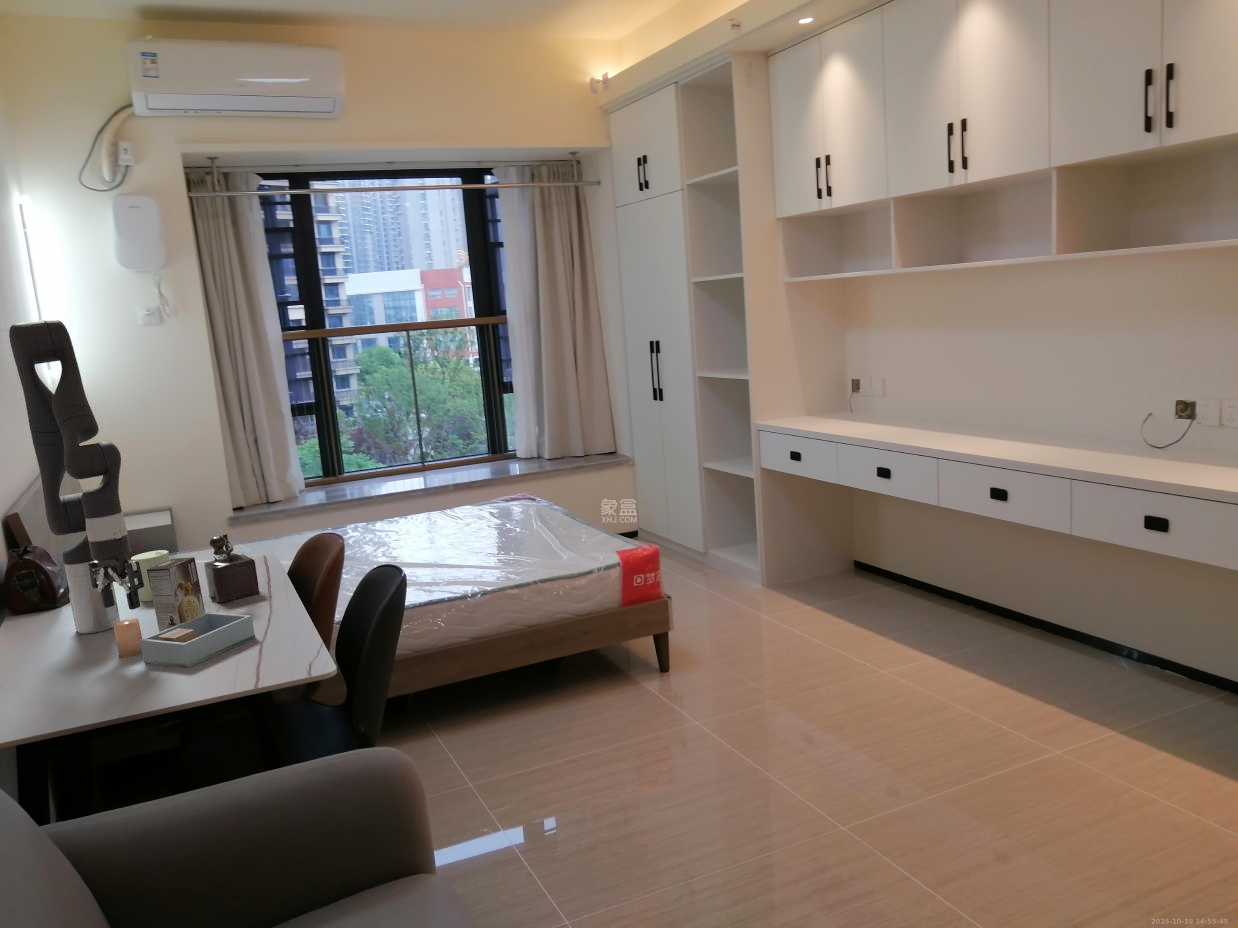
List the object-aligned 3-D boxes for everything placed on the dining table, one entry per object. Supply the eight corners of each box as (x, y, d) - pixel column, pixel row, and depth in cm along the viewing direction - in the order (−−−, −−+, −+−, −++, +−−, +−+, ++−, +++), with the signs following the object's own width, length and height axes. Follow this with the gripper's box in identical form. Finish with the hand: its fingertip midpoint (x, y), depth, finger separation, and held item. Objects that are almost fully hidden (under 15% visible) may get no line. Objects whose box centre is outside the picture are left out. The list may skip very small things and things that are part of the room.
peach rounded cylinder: (114, 656, 203) (108, 625, 202) (134, 647, 208) (128, 617, 207) (129, 657, 201) (123, 627, 200) (149, 649, 206) (143, 619, 204)
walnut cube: (162, 658, 196) (158, 636, 195) (182, 650, 201) (178, 628, 200) (178, 660, 194) (174, 638, 193) (198, 651, 198) (194, 629, 197)
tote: (144, 662, 197) (139, 639, 196) (212, 633, 212) (208, 612, 212) (188, 667, 191) (183, 644, 190) (255, 637, 206) (251, 615, 206)
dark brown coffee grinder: (206, 597, 244) (193, 531, 241) (249, 586, 250) (237, 521, 247) (222, 608, 231) (210, 539, 228) (267, 597, 238) (255, 529, 235)
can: (165, 599, 246) (157, 555, 244) (131, 602, 246) (123, 559, 244) (182, 589, 255) (174, 546, 253) (149, 592, 255) (141, 550, 253)
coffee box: (184, 621, 224) (172, 557, 221) (207, 621, 222) (195, 556, 220) (158, 635, 215) (145, 568, 212) (182, 634, 213) (170, 567, 211)
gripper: (70, 539, 200) (85, 611, 202) (112, 540, 193) (127, 614, 196) (103, 531, 207) (117, 601, 209) (145, 531, 200) (159, 603, 202)
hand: (122, 607), depth 202 cm, fingers open, 8 cm apart
